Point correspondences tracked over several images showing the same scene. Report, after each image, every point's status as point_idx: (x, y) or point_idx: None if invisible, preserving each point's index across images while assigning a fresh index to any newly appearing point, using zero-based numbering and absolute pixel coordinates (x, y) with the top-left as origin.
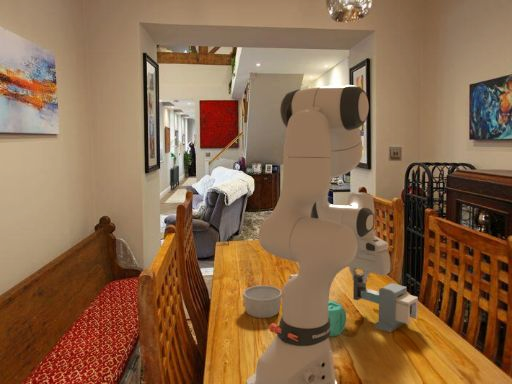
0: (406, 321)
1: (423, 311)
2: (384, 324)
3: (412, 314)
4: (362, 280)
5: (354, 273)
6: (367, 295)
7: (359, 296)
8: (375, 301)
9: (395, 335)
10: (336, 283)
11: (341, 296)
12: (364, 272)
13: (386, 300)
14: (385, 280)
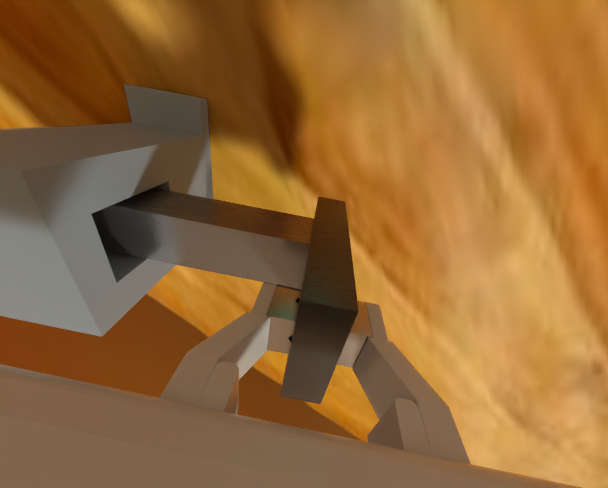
0: (42, 127)
1: (177, 306)
2: (169, 122)
3: None
4: (274, 298)
5: (375, 369)
6: (251, 220)
7: (312, 222)
8: (206, 202)
9: (105, 74)
10: (478, 375)
11: (436, 299)
12: (211, 378)
13: (45, 142)
14: (342, 418)
